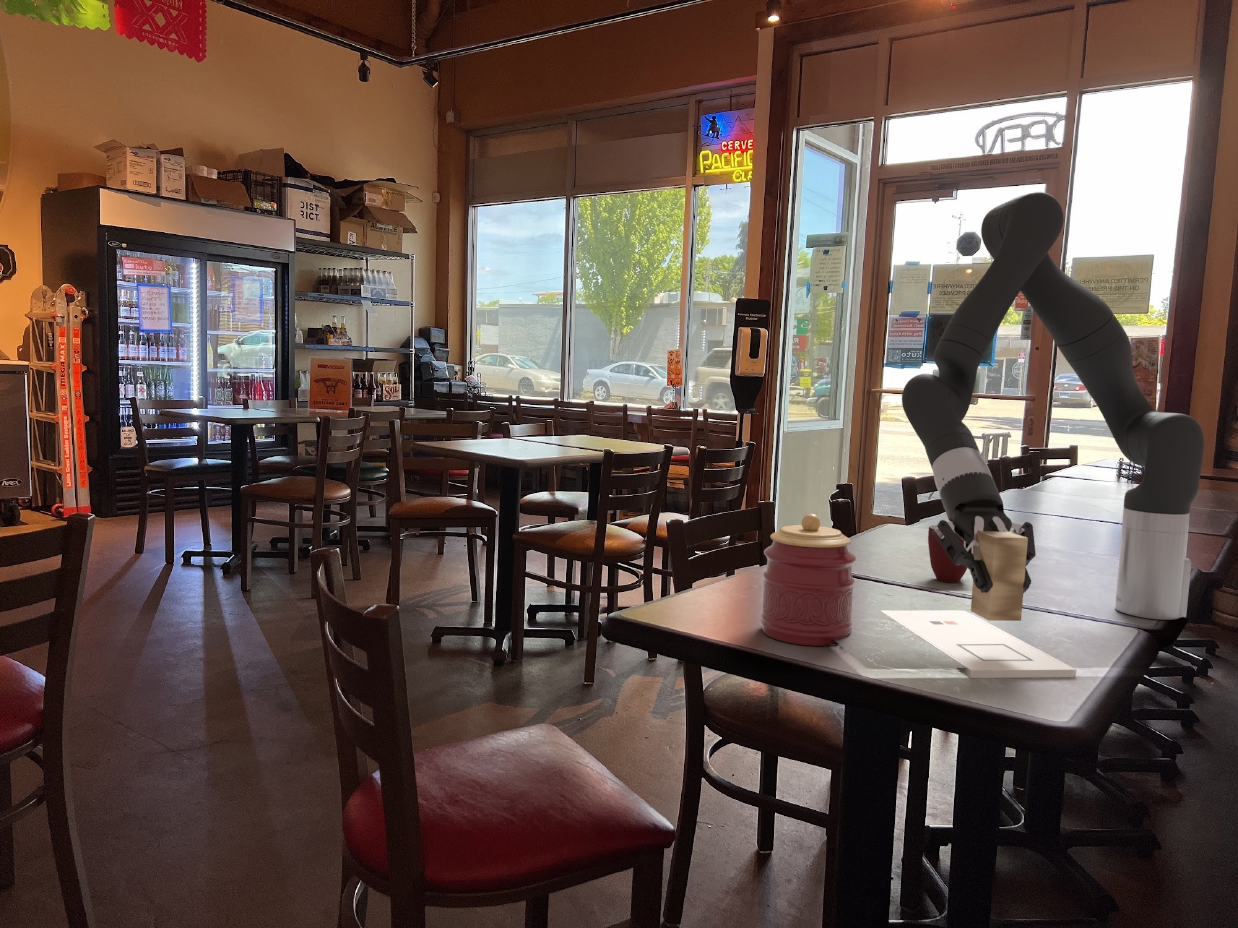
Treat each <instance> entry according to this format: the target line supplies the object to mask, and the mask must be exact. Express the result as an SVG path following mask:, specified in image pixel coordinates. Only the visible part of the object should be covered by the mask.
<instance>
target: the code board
mask: <svg viewBox="0 0 1238 928" xmlns="http://www.w3.org/2000/svg"><path fill="white" fill-rule="evenodd" d="M879 612H881V613H883V615H886V616H887V617H888V618H890V619H892V620H893V621H895V622H896V623H898V624H900V625H901V626H903V628H905V629H907V630H909V631H910V632H912V633H913V634H915V635H916V636H918V637H919V638H920V639H922V640H924V641H926V642H927V643H928V644H930V645H931V646H933V647H935V648H936V649H937V650H939V651H941V652H942V653H943V654H945V655H946V656H948V657H950V658H952V659H953V660H954V661H956V662H958V663H959V664H960V665H962V666H963V667H955V669H956V670H958V671H959V672H961V673H962V674H964V675H965V676H967V677H968V678H970V679H1007V678H1009V679H1010V678H1011V679H1012V678H1013V679H1014V678H1015V679H1016V678H1017V679H1018V678H1019V679H1022V678H1023V679H1025V678H1027V679H1029V678H1030V679H1032V678H1033V679H1034V678H1037V679H1038V678H1043V679H1044V678H1076V675H1077V668H1074V667H1072V666H1071V665H1069V664H1067V663H1066V662H1063V661H1061V660H1059V659H1057V658H1056V657H1053V656H1051V655H1050V654H1048V653H1046V652H1044V651H1042V650H1040V649H1038V648H1037V647H1034V646H1033V645H1030V644H1028V643H1027V642H1026V641H1023V640H1021V639H1019V638H1017V637H1015V636H1014V635H1012V634H1010V633H1008V632H1006V631H1004V630H1003V629H1000V628H999V627H996V626H994V625H992V624H991V623H989V622H987V621H985V620H983V619H982V618H979V617H977V616H976V615H973V614H972V613H971V612H968V611H966V610H951V609H949V610H945V609H943V610H942V609H941V610H934V609H933V610H930V609H929V610H923V609H921V610H914V609H913V610H896V609H895V610H885V609H884V610H879Z"/></svg>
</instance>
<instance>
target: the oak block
mask: <svg viewBox="0 0 1238 928" xmlns="http://www.w3.org/2000/svg"><path fill="white" fill-rule="evenodd" d="M977 536H978V539H979V541H980V545H979V548H980V550H981V553H982V559H981V561H984V562H985V565H986V567H987V570H988V573H989V575H990V578H991V581H992V582H993V587H992V588H991V589H990V590H989V591H988V592H987V593H982V592H981V591H980V589H978V588H977V587H976V586H975V583H974V581H973V580H972V590H971V591H972V592H971V602H970V604H971V605H970V613H974V614H975V615H977V616H979V617H981V618H983V619H984V620H987V621H998V622H999V621H1000V622H1001V621H1002V622H1003V621H1005V622H1007V621H1008V622H1009V621H1011V622H1012V621H1014V622H1016V621H1019V622H1020V621H1022V613H1023V602H1024V601H1023V600H1024V593H1023V591H1024V589H1023V586H1024V579H1025V567H1026V568H1027V566H1026V555H1027V543H1028V538H1027V537H1023V536H1020V535H1017V534H1014V533H1011V532H992V531H977Z"/></svg>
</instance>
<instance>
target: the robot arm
mask: <svg viewBox="0 0 1238 928" xmlns="http://www.w3.org/2000/svg"><path fill="white" fill-rule="evenodd" d="M1064 216H1065V215H1064V211H1063V208H1062V206H1061V204H1060V202H1059V200H1058V199H1057V198H1056V197H1054V196H1053V195H1051V194H1050V193H1048V192H1044V191H1032V192H1027V193H1024V194H1021V195H1018V196H1016V197H1014V198H1013V199H1012V198H1011V199H1010V200H1008V201H1005V202H1004V203H1001V204H999V205H997V206H995V207H993V208H991V210H989V211H987V213H986V215H984V218H983V220H982V222H981V227H980V235H981V239H982V242H983V245H984V247H985V248H986V250H987V252H988V254H989V255H990V256H991V257H992V259H993V261H992V262H991V264H990V266H989V267H988V268H987V270H986V272H985V273H984V274H983V275H982V277H981V279H980V280H979V281H978V282H977V283H976V285H975V286H974V287H973V288H972V290H971V291H970V292H969V293H968V294H967V295H966V296H965V298H964V299H963V301H962V302H961V303H960V305H958V307H957V309H956V310H955V312H954V313H953V315H952V316H951V318H950V320H949V321H948V324H947V325H946V327H945V329H944V331H943V333H942V335H941V337H940V338H939V341H938V343H937V345H936V347H935V348H934V349H935V350H934V352H933V355H932V357H933V362H934V363H935V365H936V366H937V369H938V376H937V375H934V374H931V373H920V374H916V375H915V376H914V377H912V378H910V379H909V380H908V381H907V383H906V384H905V385H904V388H903V390H902V394H901V403H902V404H901V405H902V408H903V411H904V414H905V416H906V418H907V419H908V421H909V423H910V425H911V427H912V428H913V430H914V432H915V434H916V435H917V437H918V438H919V440H920V442H921V443H922V444H923V447H924V450H925V453H926V456H927V459H928V461H929V464H930V467H931V469H932V473H933V479H934V483H935V486H936V487H935V488H936V489H937V492H938V495H939V498H940V500H941V503H942V506H943V509H944V510H945V514H946V516H947V519H948V521H946V520H945V519H941V520H940V521H939V522H938V523H937V524H936V525H937V526H936V528H935V529H934V531H933V535H934V536H935V538H936V539H937V541H938V542H939V544H940V545H941V547H942V548H943V550H944V551H945V553H946V554H947V556H948V557H949V559H950V560H951V562H952V563H953V564H954V565H957V566H958V565H960V564H961V565H965V566H966V567H967V570H969V572H970V575H971V578H972V582H973V581H974V583H975V586H976V587H977V588H978V589H980V591H981V592H982V593H987V592H988V591H989V590H990V589H991V588H992V587H993V582H992V581H991V578H990V575H989V573H988V570H987V567H986V565H985V562H984V561H981V559H982V553H981V550H980V548H979V545H980V541H979V539H978V536H977V531H992V532H1011V533H1014V534H1017V535H1020V536H1023V537H1027V538H1028V543H1027V555H1026V567H1025V579H1024V586H1023V589H1024V591H1023V594H1024V593H1026V592H1027V591H1028V590H1029V588H1030V587H1031V584H1032V579H1031V577H1030V573H1029V572H1028V569H1027V566H1028V565H1029V563H1030V562H1031V561H1032V560H1033V559H1034V558H1035V557H1036V555H1037V554H1036V545H1035V534H1034V527H1033V524H1032V523H1031V522H1029V521H1025V522H1023V524H1019V523H1015V522H1012V520H1011V518H1010V517H1008V516H1007V514H1006V513H1005V509H1004V502H1003V499H1002V497H1001V495H1000V491H999V489H998V487H997V485H996V482H995V480H994V478H993V475H992V473H991V471H990V468H989V466H988V464H987V462H986V461H985V458H984V457H983V455H982V454H981V452H980V449H979V447H978V444H977V441H976V440H975V437H974V435H973V433H972V431H971V430H970V429H969V428H968V426H967V425H966V424H965V423H964V422H963V420H964V419H965V417H966V415H967V413H968V411H969V408H970V406H971V402H972V397H973V393H974V389H975V385H976V381H977V375H978V369H979V367H980V365H981V363H982V362H983V360H984V357H985V355H986V353H987V352H988V349H989V347H990V345H991V344H992V341H993V339H994V337H995V335H996V333H997V331H998V330H999V327H1000V325H1001V324H1002V322H1003V321H1004V319H1005V317H1006V315H1007V313H1008V312H1009V310H1010V309H1011V306H1012V305H1013V304H1014V302H1015V300H1016V299H1017V298H1018V296H1019V294H1020V292H1021V294H1022V295H1023V297H1024V298H1025V300H1026V301H1027V303H1028V305H1030V306H1031V308H1032V310H1033V311H1034V313H1035V314H1036V316H1037V318H1039V320H1040V322H1041V323H1042V324H1043V326H1044V327H1045V329H1046V330H1047V332H1048V333H1049V335H1050V336H1051V338H1052V340H1053V342H1054V344H1055V345H1056V347H1057V348H1058V349H1059V351H1060V353H1061V354H1062V356H1063V357H1064V359H1065V360H1066V362H1067V364H1068V365H1069V366H1070V367H1071V369H1073V371H1074V373H1075V374H1076V375H1077V378H1078V379H1079V380H1080V382H1081V383H1082V385H1083V387H1084V388H1085V390H1086V391H1087V392H1088V394H1089V395H1090V397H1091V398H1092V400H1093V402H1095V404H1096V406H1097V407H1098V409H1099V411H1100V413H1101V415H1102V416H1103V419H1104V421H1105V422H1106V425H1107V428H1108V429H1109V431H1110V433H1111V435H1112V438H1113V439H1114V441H1115V443H1116V445H1117V447H1118V449H1119V450H1120V452H1121V453H1122V455H1123V456H1124V457H1125V458H1126V459H1127V460H1128V461H1130V462H1131V463H1133V464H1135V465H1137V466H1140V467H1143V475H1142V476H1143V477H1142V480H1141V481H1140V483H1139V484H1138V485H1136V486H1135V487H1133V488H1131V489H1128V490H1126V492H1125V493H1124V500H1123V511H1122V523H1121V524H1122V525H1121V535H1120V546H1119V557H1118V572H1117V579H1116V581H1117V583H1116V592H1115V593H1116V595H1115V603H1114V604H1115V605H1114V606H1115V607H1114V608H1115V610H1117V611H1118V612H1121V613H1124V614H1125V615H1129V616H1135V617H1138V618H1144V619H1152V620H1165V621H1167V620H1168V621H1169V620H1170V621H1171V620H1172V621H1173V620H1178V619H1180V618H1187V609H1188V601H1189V600H1188V599H1189V589H1190V579H1191V568H1192V561H1191V559H1189V558H1187V547H1188V538H1189V526H1190V516H1191V515H1190V512H1191V505H1192V503H1193V501H1194V500H1195V498H1196V497H1197V494H1198V490H1199V486H1200V479H1201V474H1202V467H1203V462H1204V454H1205V435H1204V432H1203V429H1202V427H1201V425H1200V423H1199V422H1198V421H1197V420H1196V419H1195V418H1193V417H1192V416H1190V415H1188V414H1184V413H1180V412H1179V413H1177V412H1160V411H1158V410H1156V409H1155V407H1154V406H1153V405H1152V404H1151V402H1150V401H1149V400H1148V399H1147V397H1146V396H1145V394H1144V393H1143V391H1142V390H1141V388H1140V387H1139V385H1138V383H1137V381H1136V377H1135V374H1134V365H1133V364H1134V360H1133V352H1132V345H1131V342H1130V339H1129V336H1128V334H1127V332H1126V331H1125V329H1124V327H1123V326H1122V324H1121V322H1120V321H1119V319H1118V318H1117V316H1116V315H1115V313H1114V311H1113V310H1112V309H1111V308H1110V306H1109V304H1107V302H1105V301H1104V300H1103V299H1102V298H1101V297H1099V296H1098V295H1097V294H1096V293H1094V292H1093V291H1092V290H1091V289H1089V288H1087V287H1086V286H1084V285H1082V283H1080V282H1078V281H1077V280H1076V279H1074V278H1072V277H1071V276H1070V275H1068V274H1067V273H1065V272H1064V271H1063V270H1062V269H1061V268H1060V267H1059V266H1058V265H1057V263H1056V262H1055V261H1054V260H1053V258H1052V257H1051V255H1050V253H1049V251H1050V249H1051V248H1052V247H1053V246H1054V244H1055V243H1056V242H1057V240H1058V238H1059V237H1060V234H1061V233H1062V230H1063V226H1064V221H1065V220H1064V218H1065V217H1064ZM956 534H957V535H958V536H959V537H960V538H961V539H962V540H964V546H963V544H962V543H961V541H960V540H959V539H958V537H957V536H956Z"/></svg>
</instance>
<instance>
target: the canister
mask: <svg viewBox="0 0 1238 928" xmlns="http://www.w3.org/2000/svg"><path fill="white" fill-rule="evenodd" d="M770 539H771V540H772V543H771V545H769V546H768V547H766V548H765V549H764V550H763V554H764V555H765V557H766V559H767V560H766V561H767V563H766V568H765V570H764V571H763V573H762V576H763V592H762V593H763V594H762V595H763V596H762V611H761V613H760V617H761V618H760V622H761V627H762V630H761V631H762V632H763V633H764V634H765V635H767V636H768V637H770V638H772V639H774V640H777V641H780V642H784V643H788V644H794V645H802V646H812V647H813V646H814V647H817V646H818V647H820V646H822V647H824V646H827V647H828V646H834V645H839V642H838V641H836V640H839V639H843V638H846V637H848V636H849V635H850V634H851V632H852V630H853V626H852V625H853V619H852V613H853V597H854V596H853V595H854V594H853V593H854V584H855V578H854V577H853V574H852V572H853V571H852V569H853V568H852V567H853V566H852V565H853V564H854V563H855V561H856V560H857V557H856V555H855V554H854V553H853V552H852V551H850V550H849V547H848V546H849V545H851V542H852V541H851V540H852V539H850V538H849V537H847V536H846V535H845V534H843V533H842V531H841V530H839V529H836V528H831V527H828V526H827V527H826V526H821V519H820V517H819V516H818V515H816V514H814V513H808V514H805V515H804V516H803V517H802V520H801V524H795V525H785V526H781V528H780V529H779V530H776V531H775V532H772V534H770Z"/></svg>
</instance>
